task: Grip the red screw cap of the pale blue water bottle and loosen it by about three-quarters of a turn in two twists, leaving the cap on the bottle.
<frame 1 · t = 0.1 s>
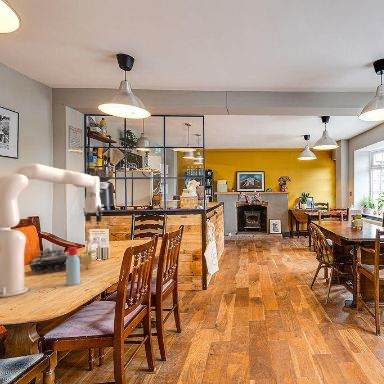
hand: (93, 221, 184), 31 cm above the table, tool pointing down, fingers open, 9 cm apart
wall sconce: (88, 268, 187), on the table
cap: (72, 248, 157), point 20 cm above the table, screwed on, not yet turned
tank: (55, 269, 185), on the table
bottle: (73, 283, 157), on the table
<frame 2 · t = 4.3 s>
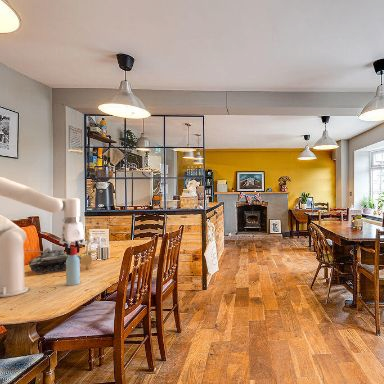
hand: (72, 253, 157), 17 cm above the table, tool pointing down, fingers closed on cap, 3 cm apart
cap: (72, 248, 157), point 20 cm above the table, screwed on, not yet turned, touching gripper
everything else where it was.
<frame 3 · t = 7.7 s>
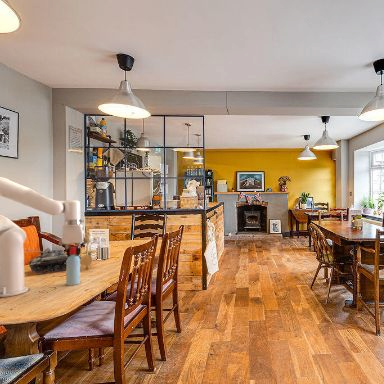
hand: (73, 255, 157), 16 cm above the table, tool pointing down, fingers closed on cap, 3 cm apart
cap: (73, 247, 157), point 20 cm above the table, turned 134° so far, risen 0.1 cm, still on its thread, touching gripper
bottle: (73, 283, 157), on the table, touching gripper
everything else where it was.
when the fingers open (16 cm above the table, at t = 15.8 s): cap stays where it is, point 20 cm above the table.
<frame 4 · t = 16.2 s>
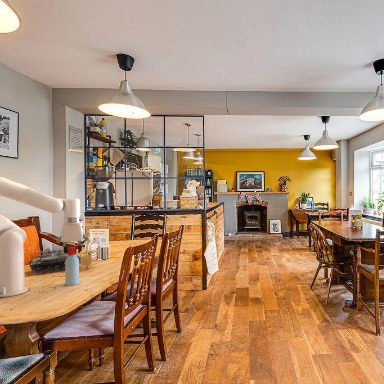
hand: (72, 253, 157), 17 cm above the table, tool pointing down, fingers open, 5 cm apart
cap: (72, 248, 156), point 20 cm above the table, turned 134° so far, risen 0.1 cm, still on its thread
bottle: (72, 283, 157), on the table
everything else where it was.
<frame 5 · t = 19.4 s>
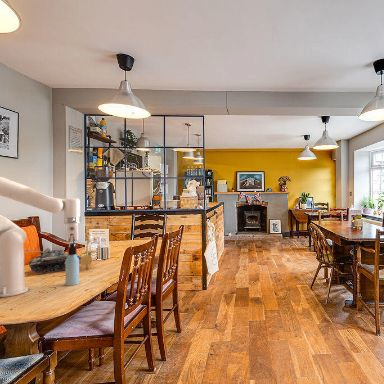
hand: (72, 253, 157), 17 cm above the table, tool pointing down, fingers closed on cap, 3 cm apart
cap: (72, 247, 156), point 20 cm above the table, turned 187° so far, risen 0.2 cm, still on its thread, touching gripper
everything else where it was.
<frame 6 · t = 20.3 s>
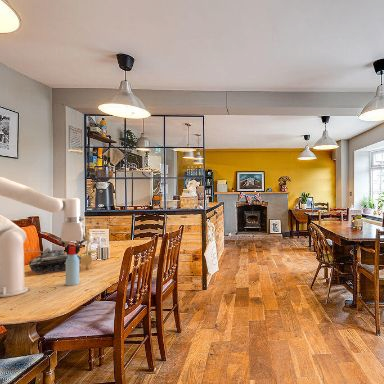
hand: (72, 253, 157), 17 cm above the table, tool pointing down, fingers closed on cap, 3 cm apart
cap: (72, 247, 156), point 20 cm above the table, turned 269° so far, risen 0.3 cm, still on its thread, touching gripper
everything else where it was.
when the fingers open (17 cm above the table, at t = 20.4 s): cap stays where it is, point 20 cm above the table.
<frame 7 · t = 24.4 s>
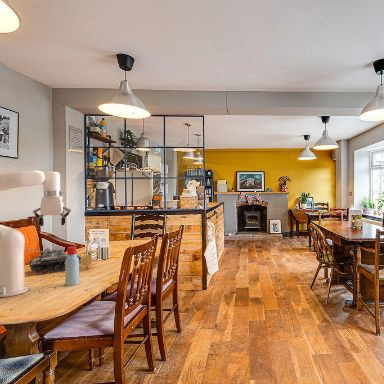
hand: (52, 225, 155), 32 cm above the table, tool pointing down, fingers open, 9 cm apart
cap: (71, 247, 156), point 20 cm above the table, turned 269° so far, risen 0.3 cm, still on its thread
everything else where it was.
at the end: cap turned 0.75 turns (still on its thread); bottle tilted 0° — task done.
